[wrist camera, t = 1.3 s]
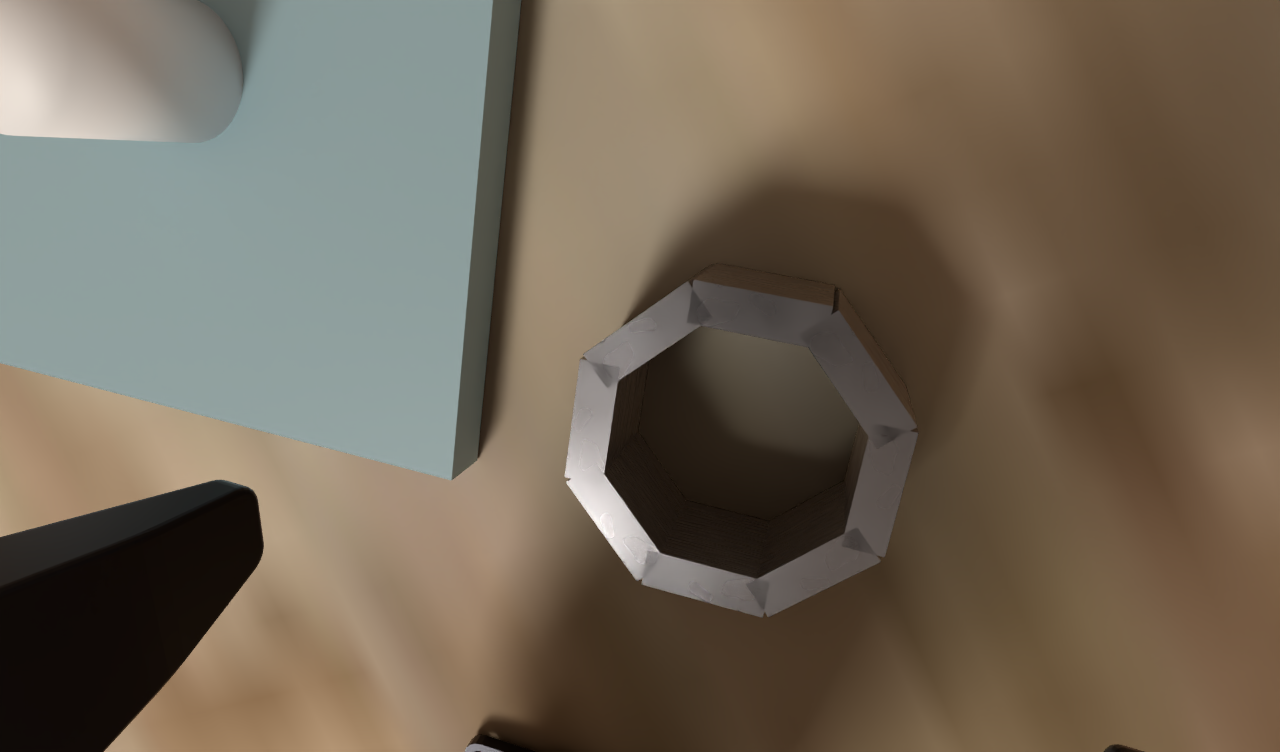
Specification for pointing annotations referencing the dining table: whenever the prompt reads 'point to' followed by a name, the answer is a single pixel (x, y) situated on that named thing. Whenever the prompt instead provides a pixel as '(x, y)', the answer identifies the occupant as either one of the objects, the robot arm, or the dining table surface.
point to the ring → (719, 539)
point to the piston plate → (261, 210)
